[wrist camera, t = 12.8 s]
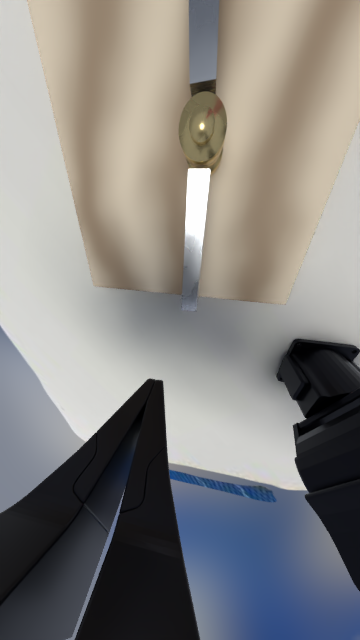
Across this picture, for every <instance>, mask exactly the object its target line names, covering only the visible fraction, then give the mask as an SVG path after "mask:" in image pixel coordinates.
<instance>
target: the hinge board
mask: <svg viewBox="0 0 360 640" xmlns="http://www.w3.org/2000/svg"><path fill="white" fill-rule="evenodd" d="M27 2H28V7H29V11H30V15H31V20H32V24H33V28H34V32H35V37H36V41H37V45H38V49H39V54H40V58H41V62H42V67H43V71H44V75H45V79H46V84H47V88H48V92H49V97H50V101H51V105H52V109H53V114H54V118H55V122H56V127H57V131H58V135H59V139H60V144H61V148H62V152H63V157H64V161H65V165H66V169H67V174H68V178H69V182H70V186H71V191H72V195H73V199H74V204H75V208H76V212H77V216H78V221H79V225H80V229H81V234H82V238H83V242H84V246H85V251H86V255H87V259H88V264H89V268H90V272H91V276H92V281H93V285H94V286H97V287H107V288H117V289H128V290H138V291H148V292H158V293H169V294H179V295H182V286H183V266H184V245H185V225H186V205H187V185H188V169H190V168H189V166H188V163H187V160H186V157H185V155H184V152H183V150H182V147H181V144H180V140H179V121H180V117H181V114H182V111H183V109H184V107H185V105H186V104H187V102H188V101H189V100H190V99H191V98H192V97H191V90H190V71H189V0H27ZM216 95H217V96H218V97H219V98H220V100H221V101H222V103H223V105H224V107H225V110H226V115H227V130H226V135H225V141H224V146H223V153H222V159H221V163H220V165H219V168H218V169H217V171H216V172H215V173H214V174H213V175H212V176H211V177H210V192H209V201H208V211H207V220H206V230H205V240H204V249H203V259H202V268H201V278H200V287H199V297H210V298H220V299H230V300H241V301H251V302H261V303H271V304H282V305H285V304H286V302H287V300H288V297H289V295H290V292H291V290H292V287H293V285H294V282H295V280H296V277H297V275H298V272H299V270H300V267H301V265H302V262H303V260H304V257H305V255H306V252H307V250H308V247H309V245H310V242H311V240H312V237H313V235H314V232H315V230H316V227H317V225H318V222H319V220H320V217H321V215H322V212H323V210H324V207H325V205H326V202H327V200H328V198H329V195H330V193H331V190H332V188H333V185H334V183H335V180H336V178H337V175H338V173H339V170H340V168H341V165H342V163H343V160H344V158H345V155H346V153H347V150H348V148H349V145H350V143H351V140H352V138H353V135H354V133H355V130H356V128H357V125H358V123H359V120H360V0H219V21H218V47H217V73H216Z"/></svg>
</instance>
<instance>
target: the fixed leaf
mask: <svg viewBox="0 0 360 640" xmlns="http://www.w3.org/2000/svg"><path fill="white" fill-rule="evenodd" d="M226 130H227V115H226V110H225V107H224V105H223V103H222V101H221V100H220V98H219V97H218V96H217V95H215V94H214V93H212V92H207V91H204V92H200V93H197V94H196V95H194V96H193V97H192V98H191V99H190V100H189V101H188V102H187V104H186V105H185V107H184V109H183V111H182V114H181V117H180V121H179V140H180V144H181V147H182V150H183V152H184V155H185V157H186V160H187V163H188V166H189V168H190V169H188V185H187V205H186V225H185V245H184V266H183V286H182V306H181V310H187V311H196V308H197V302H198V296H199V287H200V278H201V268H202V259H203V249H204V240H205V230H206V220H207V211H208V201H209V192H210V177H211V176H212V175H213V174H214V173H215V172H216V171H217V169H218V168H219V165H220V163H221V159H222V153H223V146H224V141H225V135H226ZM219 155H220V156H219ZM218 157H219V158H218ZM217 158H218V160H217V162H216V163H215V164H214V165H213V166H212V167H211V168H210V169H195V168H193V167H192V166H191V165H193V166H195V167H198V168H204V167H207V166H210V165H211V164H212V163H214V162H215V161H216V159H217Z"/></svg>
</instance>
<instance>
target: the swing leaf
mask: <svg viewBox="0 0 360 640" xmlns="http://www.w3.org/2000/svg"><path fill="white" fill-rule="evenodd" d="M218 21H219V0H189V71H190V90H191V97H193V96H194V95H196V94H197V93H200V92H204V91H207V92H212V93H214V94H215V95H216V73H217V47H218ZM219 156H220V155H219ZM218 158H219V157H218ZM218 158H217V159H216V161H215V162H214V163H212V164H211V165H210V166H207V167H204V168H198V167H195V166H193V165H191V166H192V167H193V168H195V169H210V168H211V167H212V166H213V165H214V164H215V163H216V162H217V160H218Z"/></svg>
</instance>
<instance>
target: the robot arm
mask: <svg viewBox="0 0 360 640" xmlns="http://www.w3.org/2000/svg"><path fill="white" fill-rule="evenodd" d="M299 343H300V344H299ZM297 344H298V345H297ZM359 352H360V350H359V349H358V348H357V347H356V346H351V345H343V344H334V343H326V342H317V341H309V340H301V339H297V340H295V341H294V342H293V343H292V345H291V347H290V350H289V352H288V354H287V355H286V356H285V358H284V360H283V362H282V364H281V366H280V368H279V372H278V374H277V379H278V381H281V382H284V383H285V385H286V387H287V389H288V391H289V394H290V396H291V398H292V399H293V400H296V401H297V403H298V405H299V407H300V409H301V411H302V413H303V415H304V417H305V418H307V419H305V420H303V421H302V422H300V423H296V424H294V425H293V430H294V438H295V446H296V455H297V457H296V458H295V464H296V467H297V469H298V472H299V475H300V477H301V479H302V481H303V483H304V485H305V487H306V489H307V490H308V492H309V493H308V494H306V495H305V498H306V500H307V502H308V503H309V504H310V506H311V507H312V508H313V510H314V511H315V512H316V513H317V515H318V516H319V518H320V519H321V521H322V523H323V524H324V526H325V527H326V529H327V531H328V532H329V534H330V536H331V537H332V539H333V541H334V543H335V545H336V547H337V549H338V551H339V553H340V555H341V558H342V560H343V562H344V564H345V566H346V568H347V570H348V572H349V574H350V576H351V578H352V580H353V582H354V584H355V585H356V587H357V588H358V590H359V591H360V368H359V367H358V366H357V365H356V364H355V363H354V362H353V360H354V359H355V357H356V356H357V355H358V354H359ZM125 487H126V488H125ZM124 490H125V492H124ZM123 492H124V496H123V500H122V504H121V508H120V512H119V513H120V514H119V516H118V520H117V524H116V527H115V531H114V534H113V537H112V541H111V543H110V546H109V549H108V551H107V554H106V557H105V560H104V562H103V565H102V568H101V571H100V573H99V576H98V579H97V581H96V584H95V587H94V590H93V592H92V595H91V597H90V600H89V603H88V605H87V608H86V611H85V614H84V616H83V619H82V622H81V624H80V627H79V630H78V632H77V635H76V638H75V640H200V637H199V632H198V627H197V622H196V617H195V612H194V607H193V602H192V597H191V592H190V589H189V583H188V579H187V573H186V568H185V563H184V558H183V553H182V547H181V542H180V536H179V530H178V524H177V519H176V513H175V507H174V502H173V495H172V489H171V483H170V475H169V467H168V454H167V439H166V422H165V405H164V388H163V381H162V380H155V379H148V380H147V381H146V382H145V383H144V384H143V385H142V386H141V387H140V388H139V389H138V390H137V391H136V392H135V393H134V394H133V395H132V396H131V397H130V398H129V399H128V400H127V401H126V402H125V403H124V404H123V405H122V406H121V407H120V408H119V409H118V410H117V411H116V412H115V413H114V414H113V415H112V417H111V418H110V419H109V420H108V421H107V422H106V423H105V424H104V425H103V426H102V427H101V428H100V429H99V430H98V431H97V433H95V434H94V435H93V436H92V437H91V438H90V439H89V440H88V441H87V442H86V443H85V444H84V445H83V446H82V447H81V448H80V449H79V450H78V451H77V452H76V453H74V455H72V456H71V457H70V458H69V459H68V460H67V461H66V462H64V463H63V464H62V465H61V466H60V467H59V468H58V469H57V470H55V471H54V472H53V473H52V474H51V475H50V476H48V477H47V478H46V479H45V480H44V481H43V482H42V483H40V484H39V485H38V486H37V487H36V488H35V489H34V490H32V491H31V492H30V493H29V494H28V495H27V496H25V497H24V498H23V499H21V500H20V501H19V502H17V503H16V504H14V505H13V506H11V507H10V508H8V509H7V510H5V511H4V512H2V513H0V640H66V639H68V638H71V637H72V635H73V632H74V630H75V627H76V624H77V621H78V618H79V616H80V613H81V610H82V607H83V605H84V602H85V599H86V596H87V593H88V591H89V587H90V585H91V582H92V579H93V577H94V574H95V571H96V568H97V565H98V563H99V560H100V557H101V554H102V551H103V548H104V546H105V542H106V540H107V537H108V534H109V532H110V529H111V526H112V523H113V521H114V517H115V515H116V512H117V509H118V506H119V504H120V500H121V498H122V495H123Z"/></svg>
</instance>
